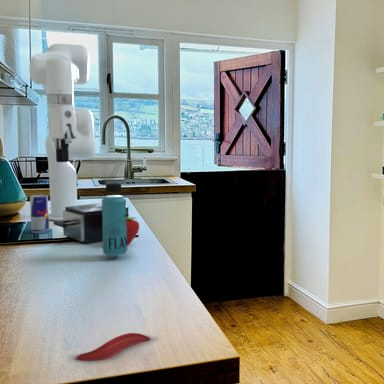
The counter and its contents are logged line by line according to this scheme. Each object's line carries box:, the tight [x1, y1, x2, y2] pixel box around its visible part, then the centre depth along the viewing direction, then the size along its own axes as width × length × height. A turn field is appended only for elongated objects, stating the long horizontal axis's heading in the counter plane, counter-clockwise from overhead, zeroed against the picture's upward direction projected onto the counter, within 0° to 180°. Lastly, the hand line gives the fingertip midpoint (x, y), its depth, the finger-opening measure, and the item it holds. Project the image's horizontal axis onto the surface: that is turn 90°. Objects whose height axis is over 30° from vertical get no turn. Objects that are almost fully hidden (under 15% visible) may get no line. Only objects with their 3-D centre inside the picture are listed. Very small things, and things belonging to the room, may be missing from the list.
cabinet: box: [65, 202, 129, 245], centre depth 151 cm, size 15×13×10 cm
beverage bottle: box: [101, 182, 128, 256], centre depth 126 cm, size 6×7×20 cm
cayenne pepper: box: [75, 332, 151, 361], centre depth 75 cm, size 12×5×2 cm, turn 119°
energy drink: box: [29, 194, 50, 235], centre depth 156 cm, size 5×5×12 cm
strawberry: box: [126, 211, 140, 246], centre depth 141 cm, size 6×8×10 cm
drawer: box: [52, 210, 85, 242], centre depth 148 cm, size 18×11×8 cm, turn 136°
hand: (62, 161), depth 147 cm, fingers closed
